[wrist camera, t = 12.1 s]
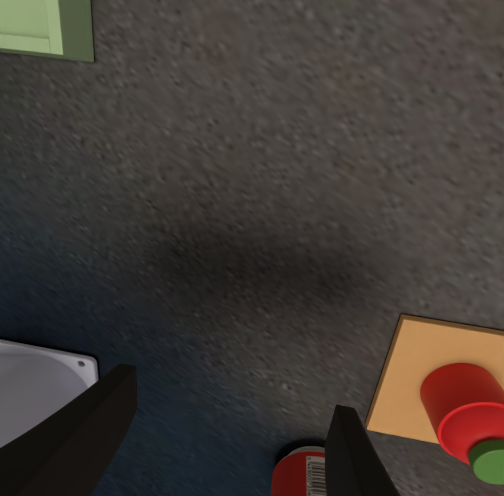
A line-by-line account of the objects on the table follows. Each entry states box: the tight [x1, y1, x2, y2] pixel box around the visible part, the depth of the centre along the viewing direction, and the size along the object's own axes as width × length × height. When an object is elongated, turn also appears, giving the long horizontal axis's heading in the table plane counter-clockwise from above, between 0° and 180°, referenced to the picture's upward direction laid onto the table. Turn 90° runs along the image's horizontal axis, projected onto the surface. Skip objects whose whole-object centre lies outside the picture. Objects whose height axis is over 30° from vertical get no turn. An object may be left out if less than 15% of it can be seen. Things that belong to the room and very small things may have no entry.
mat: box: [366, 314, 504, 444], centre depth 21 cm, size 9×9×1 cm
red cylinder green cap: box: [420, 363, 504, 484], centre depth 19 cm, size 4×4×5 cm
